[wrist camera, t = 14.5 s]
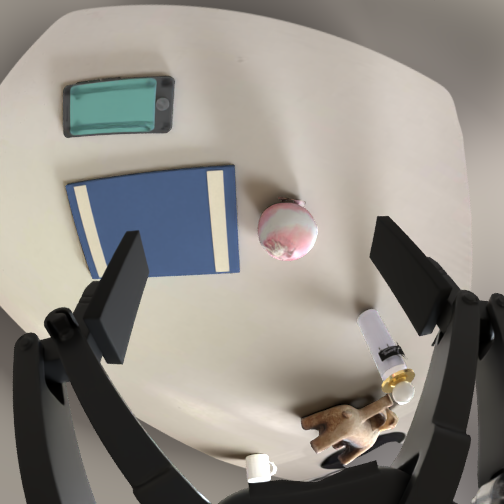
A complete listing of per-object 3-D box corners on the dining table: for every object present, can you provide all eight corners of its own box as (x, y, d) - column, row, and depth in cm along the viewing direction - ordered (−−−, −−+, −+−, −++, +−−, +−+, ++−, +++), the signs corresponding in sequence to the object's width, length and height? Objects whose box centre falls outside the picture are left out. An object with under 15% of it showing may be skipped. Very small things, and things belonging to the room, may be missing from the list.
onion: (244, 213, 40) (247, 239, 34) (291, 181, 39) (304, 201, 32) (276, 253, 44) (284, 282, 38) (320, 224, 42) (336, 250, 36)
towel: (234, 164, 37) (234, 166, 36) (239, 269, 45) (239, 273, 44) (67, 183, 36) (64, 185, 35) (94, 276, 44) (92, 279, 43)
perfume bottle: (378, 322, 54) (417, 404, 37) (351, 328, 54) (386, 415, 37) (382, 301, 51) (428, 386, 34) (354, 307, 51) (395, 398, 34)
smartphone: (170, 133, 33) (63, 138, 31) (171, 132, 34) (67, 136, 32) (173, 74, 29) (62, 84, 27) (175, 74, 30) (67, 84, 28)
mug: (281, 453, 88) (284, 476, 80) (255, 461, 92) (257, 483, 83) (267, 449, 85) (270, 473, 76) (241, 457, 88) (242, 480, 80)
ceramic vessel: (347, 472, 73) (414, 434, 69) (303, 451, 61) (392, 401, 57) (336, 444, 85) (399, 406, 81) (292, 414, 73) (372, 367, 69)
